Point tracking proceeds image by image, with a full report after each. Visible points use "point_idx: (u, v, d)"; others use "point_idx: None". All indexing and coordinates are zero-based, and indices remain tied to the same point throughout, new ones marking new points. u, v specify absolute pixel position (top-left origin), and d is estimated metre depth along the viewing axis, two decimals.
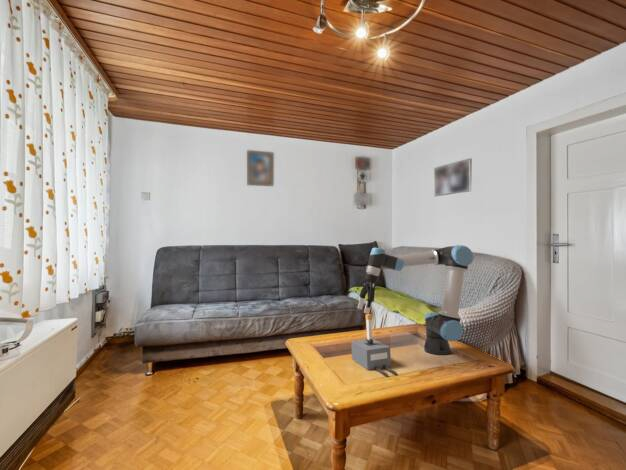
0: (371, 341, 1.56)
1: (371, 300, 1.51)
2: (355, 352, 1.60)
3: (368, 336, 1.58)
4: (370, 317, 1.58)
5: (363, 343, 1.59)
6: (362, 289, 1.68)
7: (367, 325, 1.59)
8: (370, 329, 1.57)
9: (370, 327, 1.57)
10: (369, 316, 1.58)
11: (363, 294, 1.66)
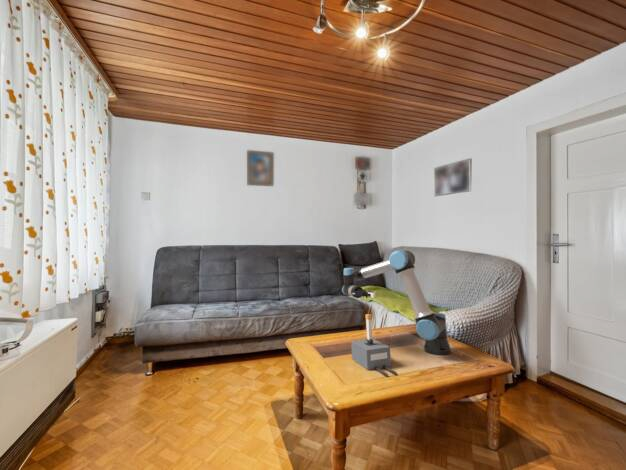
0: (371, 341, 1.56)
1: (362, 294, 1.72)
2: (355, 352, 1.60)
3: (368, 336, 1.58)
4: (370, 317, 1.58)
5: (363, 343, 1.59)
6: None
7: (367, 325, 1.59)
8: (370, 329, 1.57)
9: (370, 327, 1.57)
10: (369, 316, 1.58)
11: None
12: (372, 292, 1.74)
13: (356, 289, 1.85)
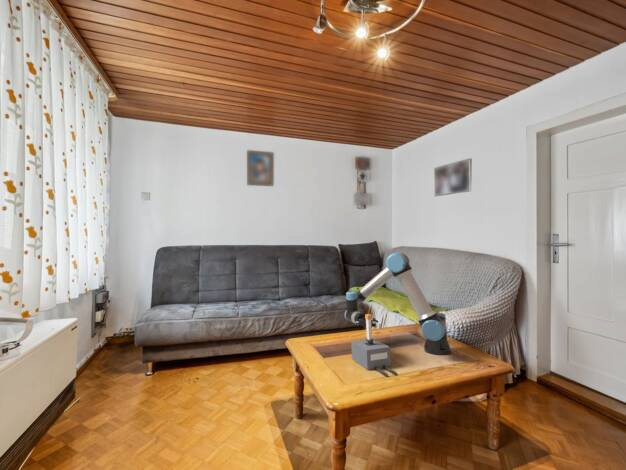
0: (371, 341, 1.56)
1: None
2: (355, 352, 1.60)
3: (368, 336, 1.58)
4: (370, 317, 1.58)
5: (363, 343, 1.59)
6: None
7: (367, 325, 1.58)
8: (370, 329, 1.57)
9: (370, 327, 1.57)
10: (369, 316, 1.58)
11: (371, 323, 1.64)
12: (377, 321, 1.63)
13: (360, 316, 1.73)
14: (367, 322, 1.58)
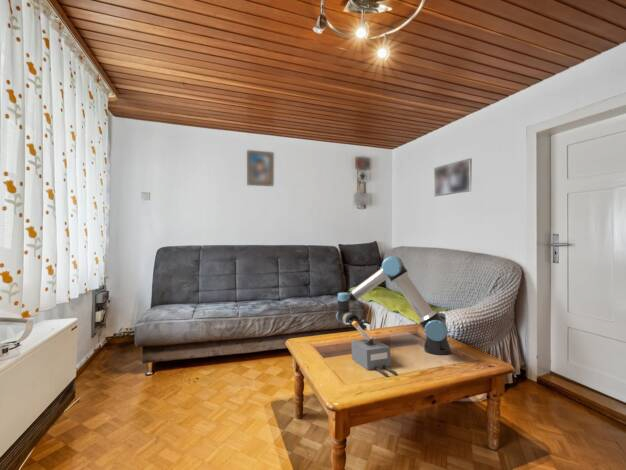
0: (371, 341, 1.56)
1: None
2: (355, 352, 1.60)
3: (366, 338, 1.57)
4: (357, 324, 1.55)
5: (363, 343, 1.59)
6: None
7: (359, 331, 1.57)
8: (363, 333, 1.56)
9: (362, 331, 1.56)
10: (355, 324, 1.55)
11: None
12: (368, 323, 1.61)
13: (351, 318, 1.71)
14: (357, 329, 1.56)
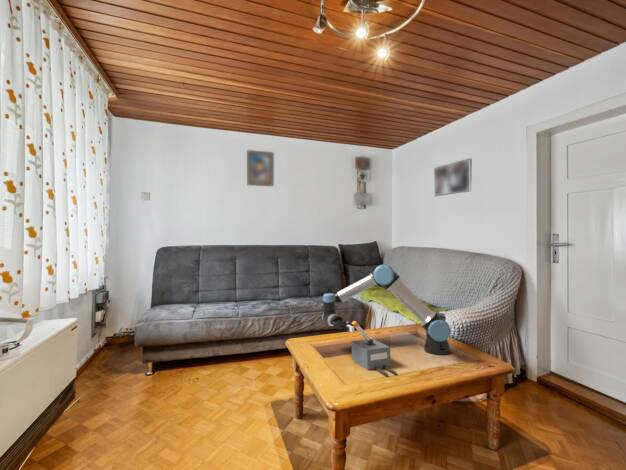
0: (371, 341, 1.56)
1: (341, 327, 1.56)
2: (355, 352, 1.60)
3: (366, 338, 1.57)
4: (356, 324, 1.55)
5: (363, 343, 1.59)
6: None
7: (359, 331, 1.57)
8: (363, 333, 1.56)
9: (362, 331, 1.56)
10: (355, 324, 1.55)
11: None
12: None
13: (335, 319, 1.68)
14: (357, 329, 1.56)
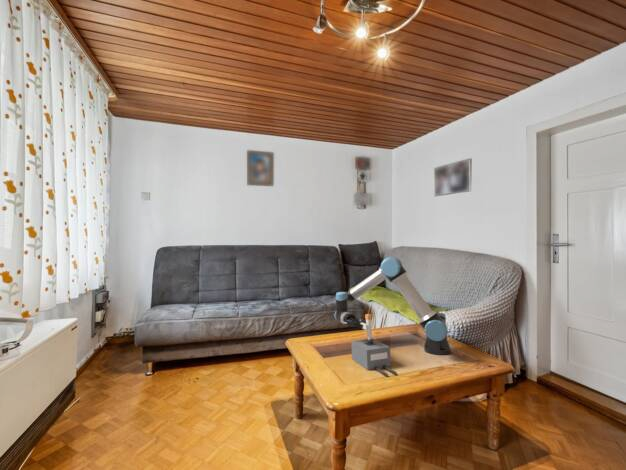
0: (371, 341, 1.56)
1: (354, 325, 1.59)
2: (355, 352, 1.60)
3: (368, 336, 1.58)
4: (370, 317, 1.58)
5: (363, 343, 1.59)
6: None
7: None
8: (370, 329, 1.57)
9: (370, 327, 1.57)
10: (369, 316, 1.58)
11: None
12: (365, 322, 1.61)
13: (348, 317, 1.72)
14: (367, 322, 1.58)
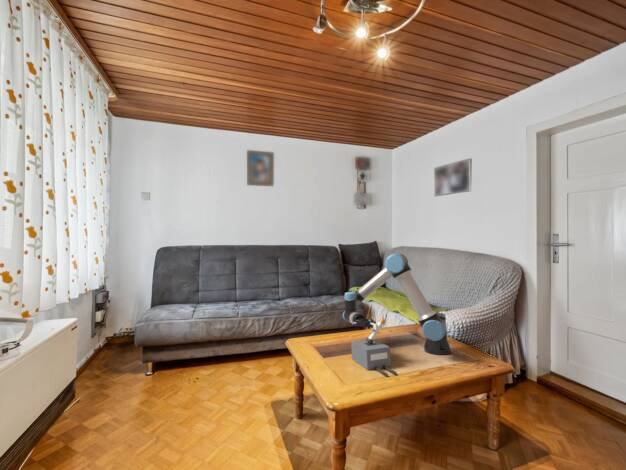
0: (371, 341, 1.56)
1: (364, 325, 1.60)
2: (355, 352, 1.60)
3: (371, 336, 1.58)
4: (383, 322, 1.60)
5: (363, 343, 1.59)
6: None
7: None
8: (377, 331, 1.59)
9: (378, 330, 1.59)
10: (383, 320, 1.60)
11: None
12: (374, 322, 1.62)
13: (358, 317, 1.73)
14: (378, 324, 1.60)
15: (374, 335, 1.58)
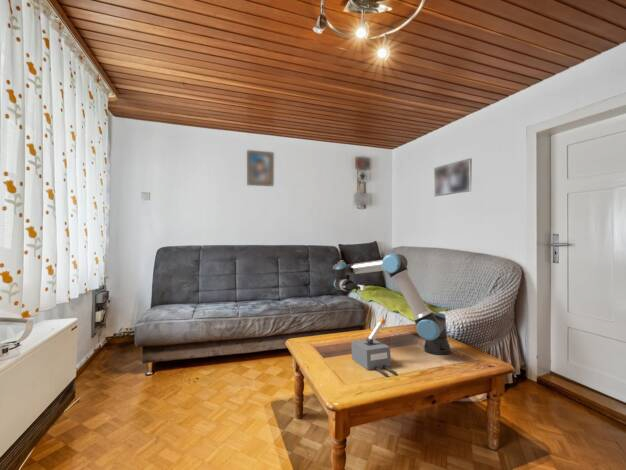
0: (371, 341, 1.56)
1: (352, 287, 1.75)
2: (355, 352, 1.60)
3: (371, 336, 1.58)
4: (383, 322, 1.60)
5: (363, 343, 1.59)
6: None
7: (376, 327, 1.60)
8: (377, 331, 1.59)
9: (378, 330, 1.59)
10: (383, 320, 1.60)
11: None
12: None
13: (347, 282, 1.88)
14: (378, 324, 1.60)
15: (374, 335, 1.58)
